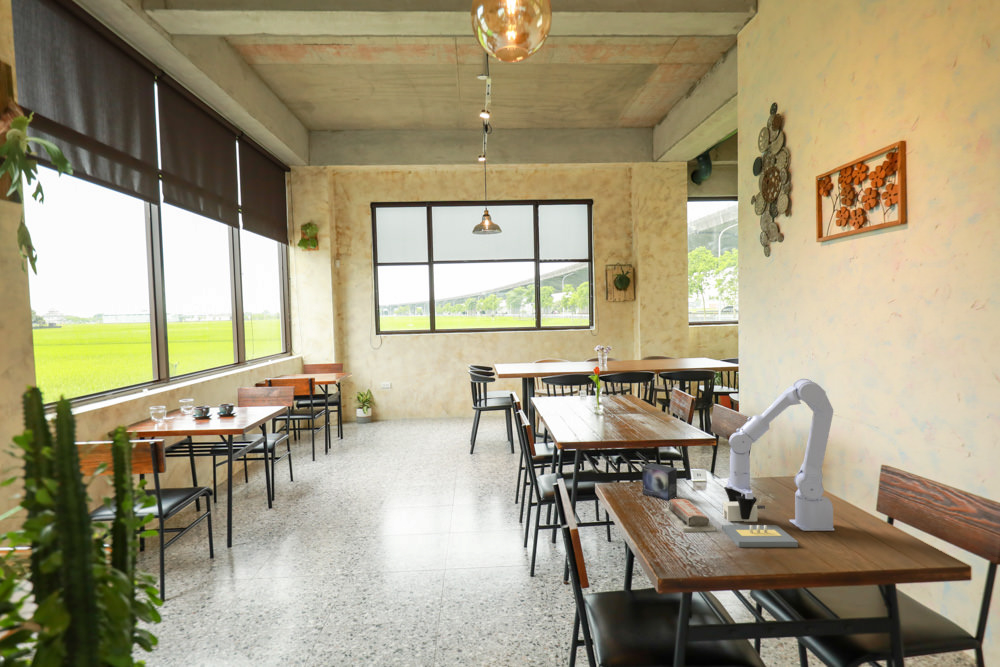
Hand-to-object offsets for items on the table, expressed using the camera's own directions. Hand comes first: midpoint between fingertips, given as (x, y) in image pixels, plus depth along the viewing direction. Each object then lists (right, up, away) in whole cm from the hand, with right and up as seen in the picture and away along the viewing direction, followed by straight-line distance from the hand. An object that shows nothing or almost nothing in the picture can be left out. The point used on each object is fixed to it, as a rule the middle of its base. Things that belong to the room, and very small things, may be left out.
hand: (740, 514), depth 167 cm
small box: (-18, -2, +24) cm, 30 cm away
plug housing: (+2, -1, 0) cm, 2 cm away
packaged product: (-16, -2, 0) cm, 17 cm away
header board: (-1, -2, -15) cm, 15 cm away
